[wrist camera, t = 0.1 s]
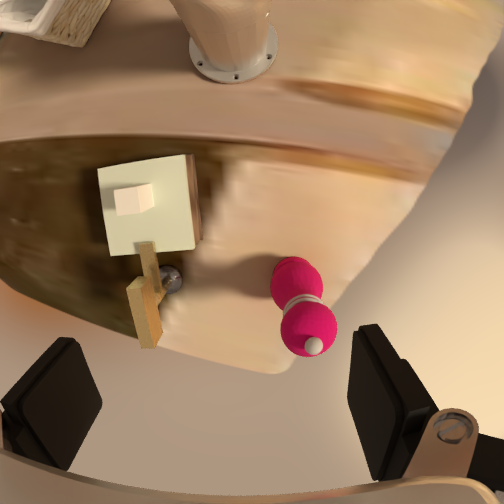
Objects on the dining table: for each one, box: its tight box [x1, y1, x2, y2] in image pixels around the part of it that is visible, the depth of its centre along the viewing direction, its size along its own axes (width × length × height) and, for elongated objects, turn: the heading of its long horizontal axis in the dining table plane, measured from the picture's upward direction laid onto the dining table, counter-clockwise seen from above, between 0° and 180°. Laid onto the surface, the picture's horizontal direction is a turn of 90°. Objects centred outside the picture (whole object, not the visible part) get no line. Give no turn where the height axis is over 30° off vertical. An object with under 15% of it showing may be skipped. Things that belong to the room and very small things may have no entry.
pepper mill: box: [270, 257, 337, 357], centre depth 38 cm, size 7×7×20 cm
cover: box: [98, 155, 195, 256], centre depth 37 cm, size 12×12×6 cm
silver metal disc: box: [159, 265, 183, 294], centre depth 48 cm, size 4×4×1 cm
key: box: [126, 242, 172, 348], centre depth 40 cm, size 12×2×12 cm, turn 5°
